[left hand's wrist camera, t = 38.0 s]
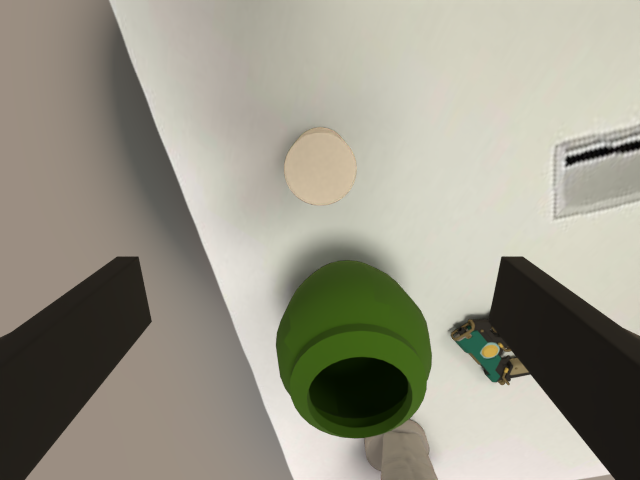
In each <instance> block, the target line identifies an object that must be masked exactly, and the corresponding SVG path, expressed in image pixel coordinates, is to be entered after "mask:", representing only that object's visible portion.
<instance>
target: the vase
mask: <svg viewBox="0 0 640 480" xmlns="http://www.w3.org/2000/svg"><path fill="white" fill-rule="evenodd" d="M276 349H277V357H278V364H279V371H280V377H281V379H282V382H283V384H284V387H285V389H286V390H287V392H288V393H289V394H290V396H291V399H292V401H293V403H294V406H295V408H296V409H297V411H298V412H299V414H300V415H301V416H302V417H303V418H304V419H305V420H306V421H307V422H308V423H309V424H311V425H312V426H314V427H315V428H317V429H319V430H321V431H323V432H325V433H328V434H330V435H335V436H339V437H344V438H368V437H372V436H377V435H381V434H384V433H386V432H389V431H392V430H393V429H395V428H397V427H399V426H401V425H402V424H403V423H405V422H406V421H407V420H408V419H410V418H411V417H412V416H413V414H414V413H415V412H416V411H417V410H418V408H419V407H420V405H421V403H422V401H423V399H424V396H425V392H426V386H427V380H428V377H429V373H430V370H431V361H432V353H431V346H430V339H429V333H428V328H427V323H426V320H425V318H424V316H423V314H422V312H421V310H420V309H419V308H418V306H417V305H416V304H415V303H414V301H413V300H412V299H411V298H410V297H409V296H408V294H407V293H406V292H405V291H404V290H403V289H402V288H401V286H400V285H399V284H398V283H397V282H396V281H395V280H394V279H392V278H391V277H390V276H389V275H387V274H386V273H384V272H382V271H380V270H378V269H376V268H374V267H372V266H370V265H368V264H365V263H362V262H358V261H350V260H345V261H337V262H333V263H330V264H327V265H325V266H323V267H321V268H320V269H318V270H317V271H316V272H314V273H313V274H312V275H311V276H310V277H308V278H307V279H306V280H305V281H304V282H303V283H302V284H301V285H300V286H299V287H298V289H297V290H296V292H295V293H294V295H293V297H292V298H291V301H290V303H289V305H288V307H287V309H286V311H285V313H284V315H283V317H282V319H281V322H280V325H279V328H278V331H277V339H276Z"/></svg>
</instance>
